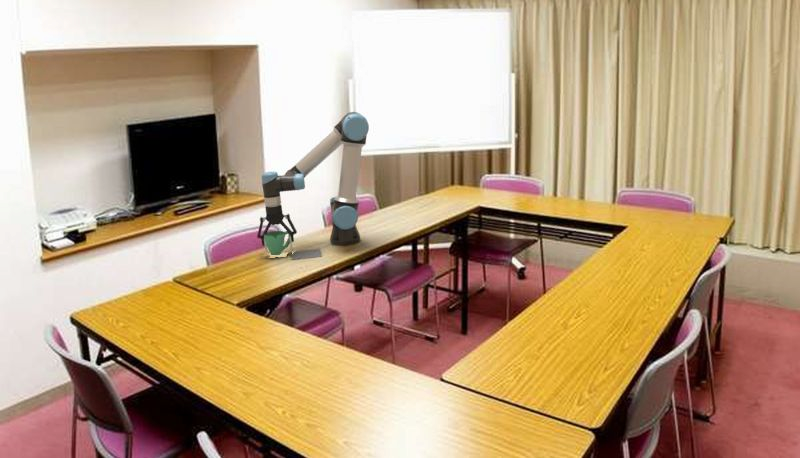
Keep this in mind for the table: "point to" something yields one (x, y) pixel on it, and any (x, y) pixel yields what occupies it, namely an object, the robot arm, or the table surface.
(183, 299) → the table surface
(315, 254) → the slate mat
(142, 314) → the table surface
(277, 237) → the mug
